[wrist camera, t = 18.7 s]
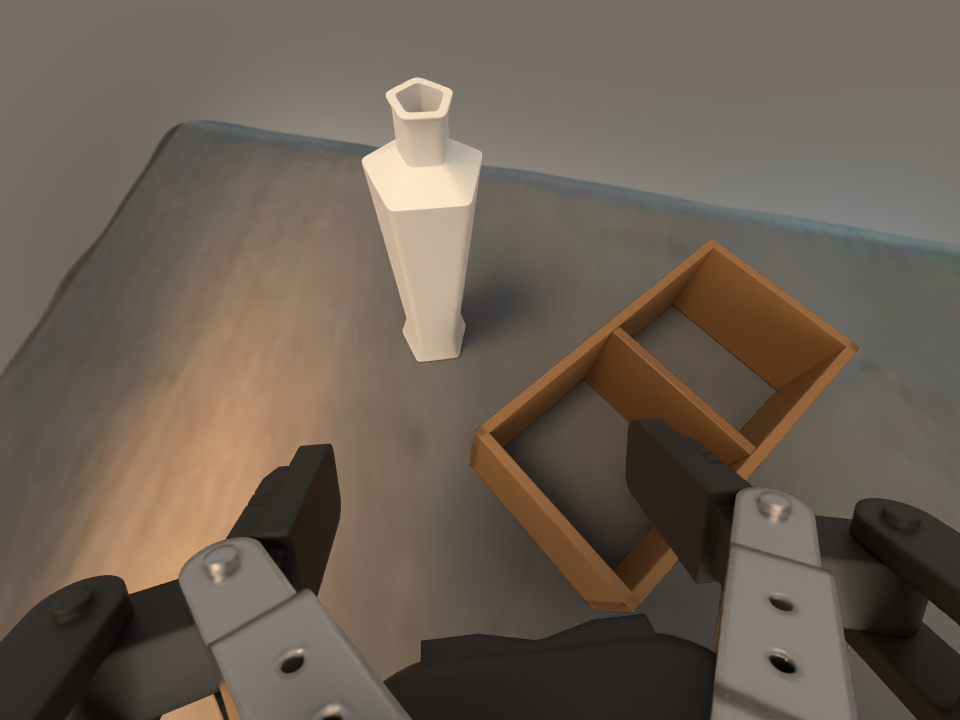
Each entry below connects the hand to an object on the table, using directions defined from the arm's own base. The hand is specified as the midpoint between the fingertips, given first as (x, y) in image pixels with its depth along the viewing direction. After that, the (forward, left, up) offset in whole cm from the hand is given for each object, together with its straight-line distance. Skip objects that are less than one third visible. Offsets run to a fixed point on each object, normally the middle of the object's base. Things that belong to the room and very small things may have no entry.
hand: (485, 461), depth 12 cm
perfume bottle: (-6, -10, -12) cm, 17 cm away
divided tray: (-11, +2, -12) cm, 16 cm away
